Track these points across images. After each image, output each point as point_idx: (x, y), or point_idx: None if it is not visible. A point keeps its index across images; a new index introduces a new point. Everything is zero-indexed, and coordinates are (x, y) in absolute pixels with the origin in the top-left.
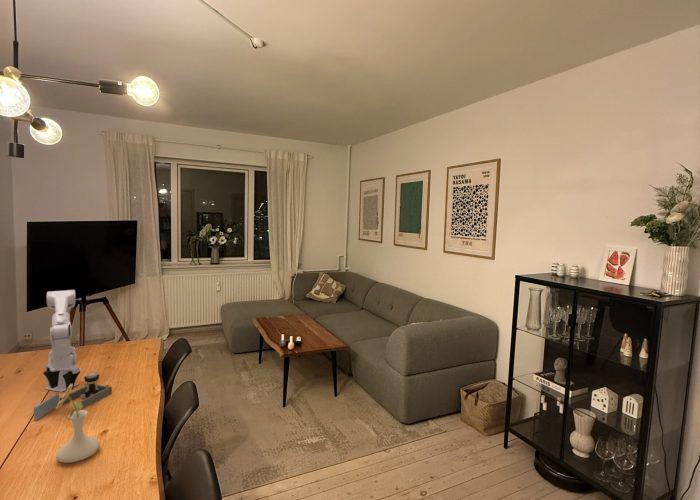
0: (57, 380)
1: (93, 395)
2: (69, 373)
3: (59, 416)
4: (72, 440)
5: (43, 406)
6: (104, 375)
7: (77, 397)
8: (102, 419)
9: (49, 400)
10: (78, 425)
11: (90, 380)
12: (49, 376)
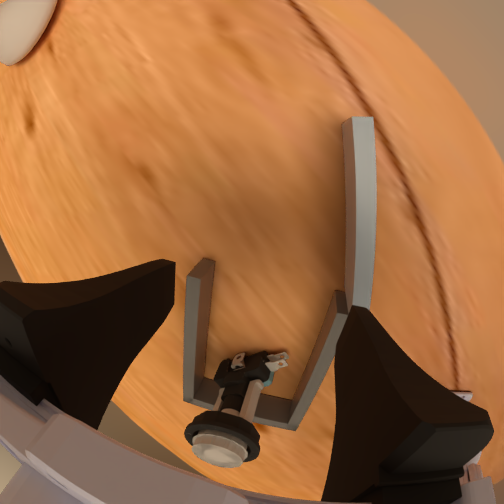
0: (339, 387)
1: (186, 339)
2: (18, 361)
3: (254, 178)
4: (4, 2)
5: (351, 181)
6: (322, 468)
7: (310, 358)
8: (69, 185)
9: (354, 242)
10: None
11: (206, 418)
12: (390, 394)
